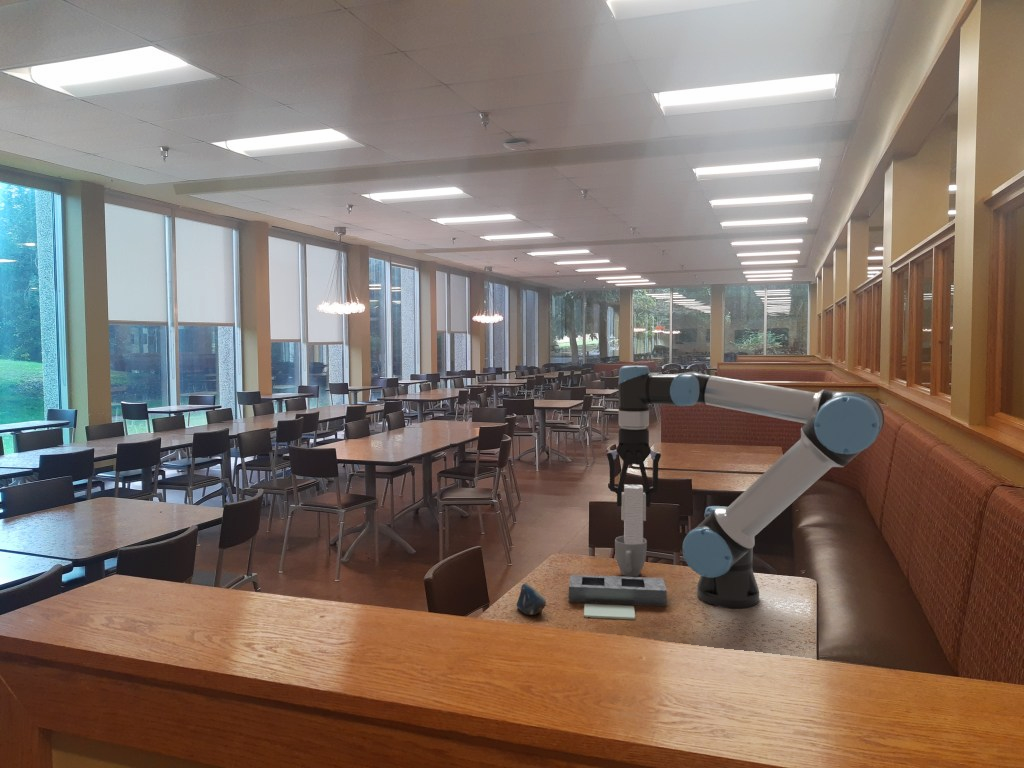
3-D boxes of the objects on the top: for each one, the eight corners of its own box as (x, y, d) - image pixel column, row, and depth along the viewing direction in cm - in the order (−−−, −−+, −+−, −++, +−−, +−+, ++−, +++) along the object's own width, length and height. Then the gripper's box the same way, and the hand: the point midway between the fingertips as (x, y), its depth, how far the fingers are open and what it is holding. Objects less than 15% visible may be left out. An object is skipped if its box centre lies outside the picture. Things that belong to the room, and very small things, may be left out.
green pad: (633, 608, 168) (633, 606, 168) (635, 619, 161) (635, 617, 161) (584, 606, 169) (584, 604, 169) (583, 617, 162) (583, 615, 162)
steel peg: (641, 538, 175) (642, 484, 174) (642, 544, 171) (643, 488, 170) (624, 538, 176) (624, 484, 175) (624, 543, 171) (624, 488, 171)
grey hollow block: (663, 593, 178) (663, 578, 177) (666, 606, 169) (666, 590, 169) (570, 589, 181) (570, 574, 181) (568, 602, 172) (568, 586, 172)
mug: (616, 567, 199) (616, 534, 198) (647, 569, 196) (647, 536, 196) (611, 581, 187) (611, 546, 186) (644, 583, 185) (644, 548, 184)
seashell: (537, 610, 160) (552, 576, 167) (505, 607, 165) (520, 574, 172) (547, 628, 163) (561, 594, 170) (515, 624, 168) (530, 591, 175)
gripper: (668, 425, 174) (667, 516, 176) (598, 425, 176) (598, 514, 178) (670, 429, 167) (670, 523, 168) (598, 428, 169) (598, 522, 170)
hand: (633, 518), depth 173 cm, fingers closed on steel peg, 4 cm apart
